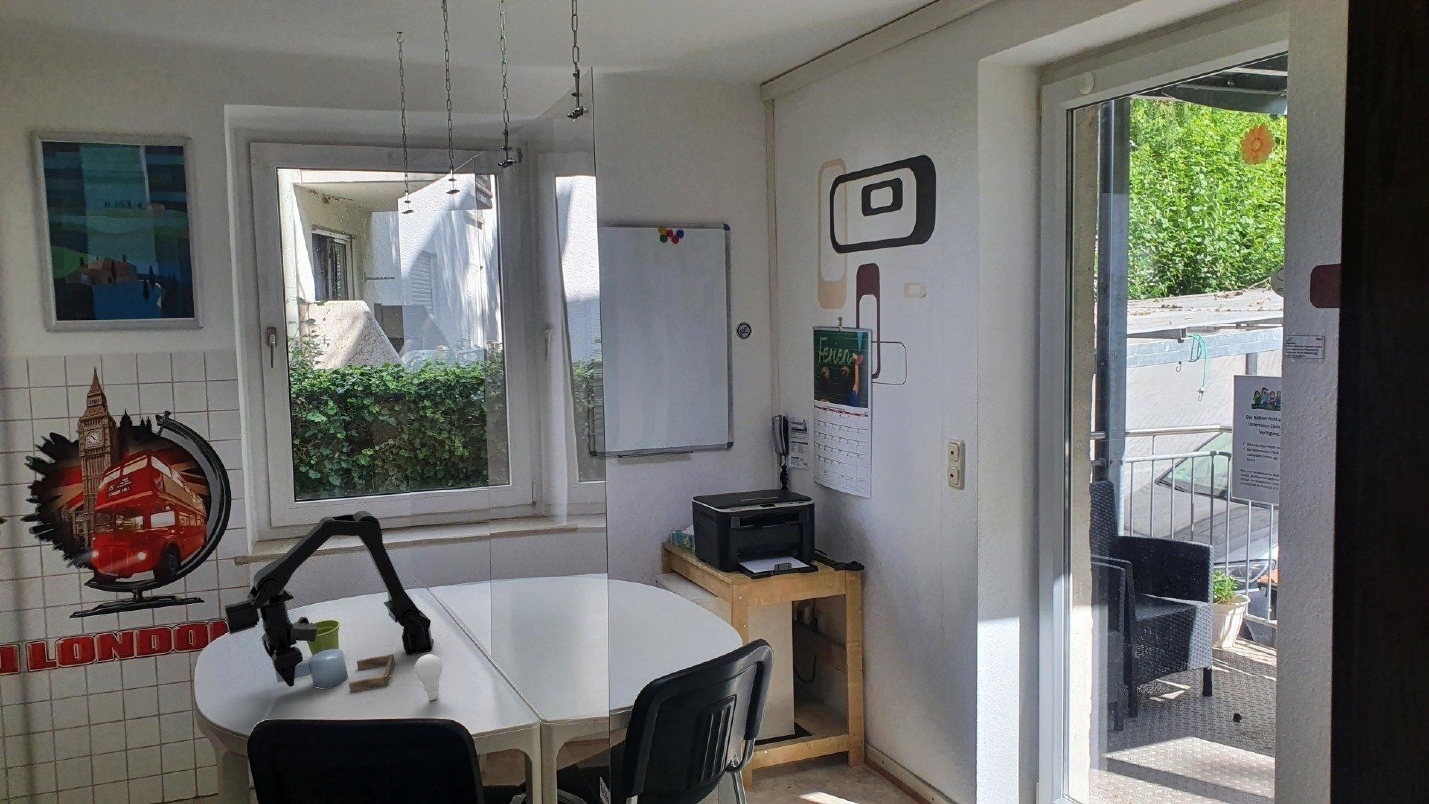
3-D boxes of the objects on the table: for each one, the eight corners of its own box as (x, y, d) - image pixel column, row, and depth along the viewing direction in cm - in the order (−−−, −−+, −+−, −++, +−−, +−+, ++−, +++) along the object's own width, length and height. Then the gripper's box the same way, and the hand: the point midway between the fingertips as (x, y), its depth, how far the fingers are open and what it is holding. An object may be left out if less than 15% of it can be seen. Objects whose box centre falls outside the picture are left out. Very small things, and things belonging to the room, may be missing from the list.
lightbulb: (423, 694, 226) (415, 651, 224) (449, 691, 227) (442, 648, 225) (417, 707, 220) (409, 663, 218) (444, 704, 221) (437, 660, 219)
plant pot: (332, 667, 246) (326, 635, 244) (299, 666, 248) (293, 635, 246) (352, 649, 255) (347, 619, 253) (321, 649, 257) (315, 619, 255)
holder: (394, 661, 245) (393, 653, 245) (388, 685, 233) (386, 676, 232) (358, 668, 243) (357, 660, 243) (350, 692, 231) (348, 683, 231)
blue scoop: (346, 669, 244) (341, 646, 242) (349, 682, 236) (344, 658, 235) (280, 687, 237) (275, 663, 236) (280, 701, 230) (275, 676, 229)
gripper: (319, 621, 227) (331, 682, 231) (303, 599, 243) (315, 656, 246) (268, 637, 222) (281, 699, 225) (255, 612, 237) (268, 670, 240)
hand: (288, 680), depth 234 cm, fingers open, 8 cm apart
